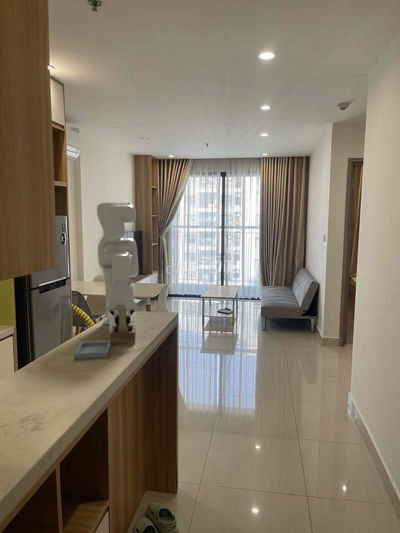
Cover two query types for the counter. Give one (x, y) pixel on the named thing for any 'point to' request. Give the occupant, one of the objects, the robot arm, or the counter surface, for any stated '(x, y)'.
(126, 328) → the handle
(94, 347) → the tray
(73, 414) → the counter surface
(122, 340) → the holder
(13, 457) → the counter surface
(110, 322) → the mug
